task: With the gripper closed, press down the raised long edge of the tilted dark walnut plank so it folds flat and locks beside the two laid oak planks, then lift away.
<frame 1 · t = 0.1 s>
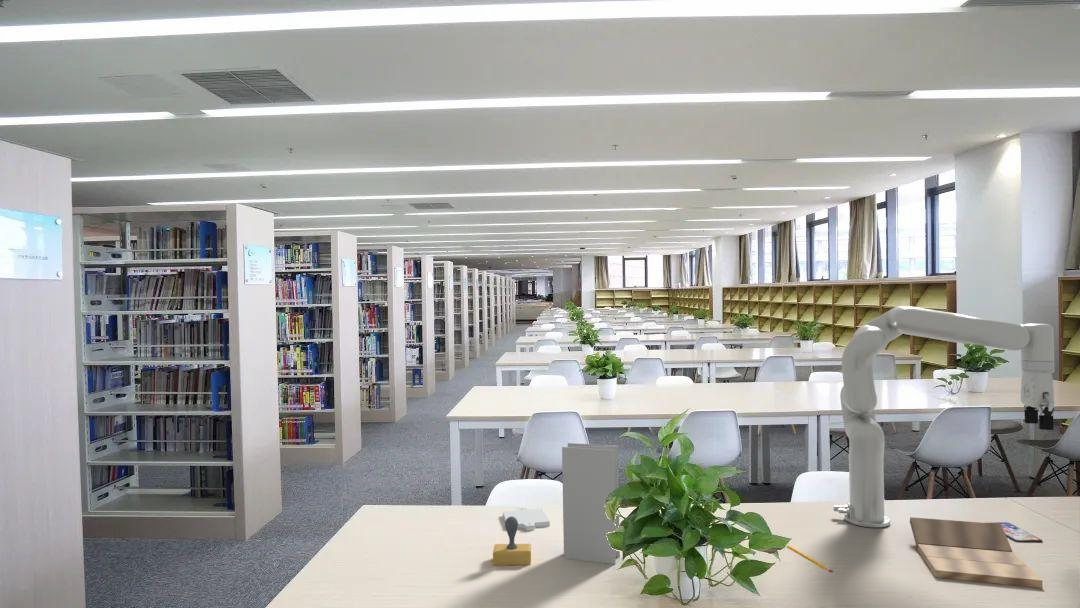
hand: (1038, 426, 186), 31 cm above the table, tool pointing down, fingers open, 9 cm apart
rubber stamp: (512, 562, 174), on the table
walnut plank: (958, 535, 177), point 3 cm above the table, hinge at 30.0°
pencil: (806, 559, 173), on the table
smartphone: (1012, 534, 188), on the table
brochure: (592, 558, 175), on the table
laid floor: (975, 568, 164), on the table
mounting plate: (525, 523, 205), on the table
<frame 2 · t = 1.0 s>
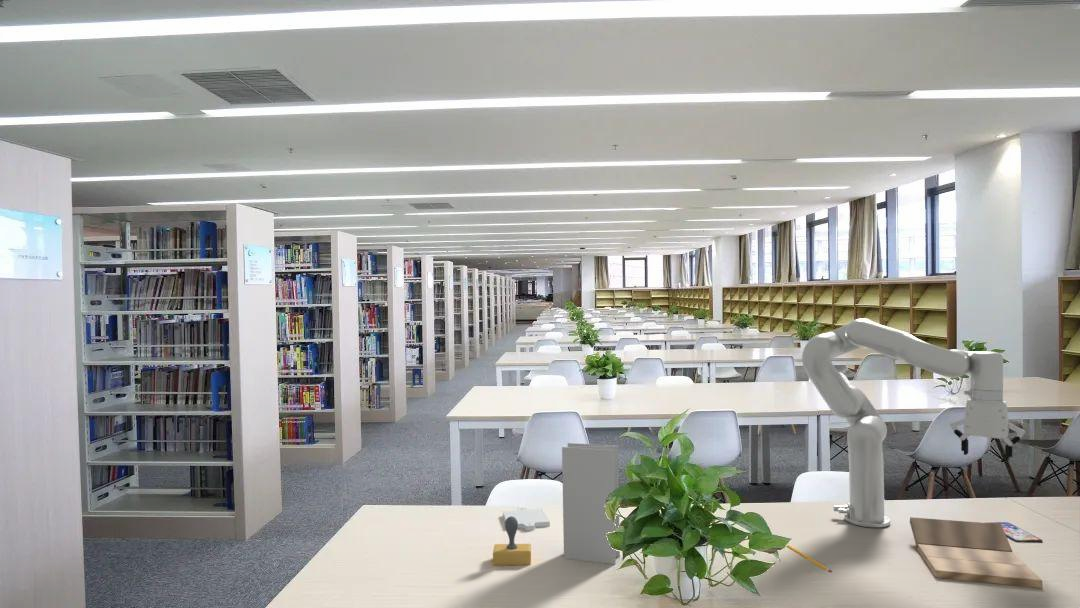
hand: (986, 456, 182), 24 cm above the table, tool pointing down, fingers open, 9 cm apart
nothing on the table moved.
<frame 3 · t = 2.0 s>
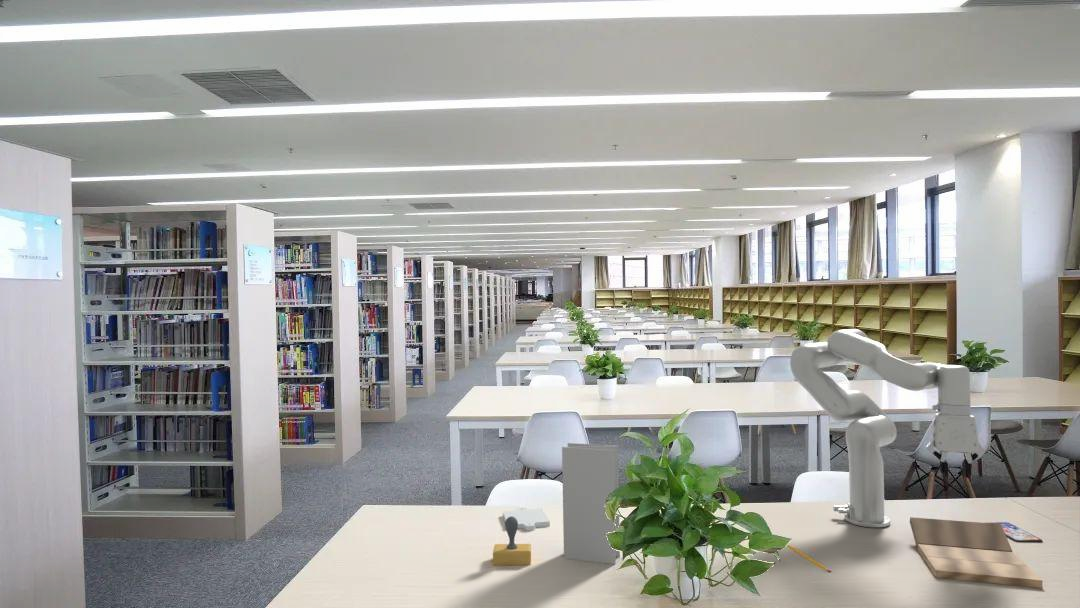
hand: (955, 475, 179), 19 cm above the table, tool pointing down, fingers open, 4 cm apart
nothing on the table moved.
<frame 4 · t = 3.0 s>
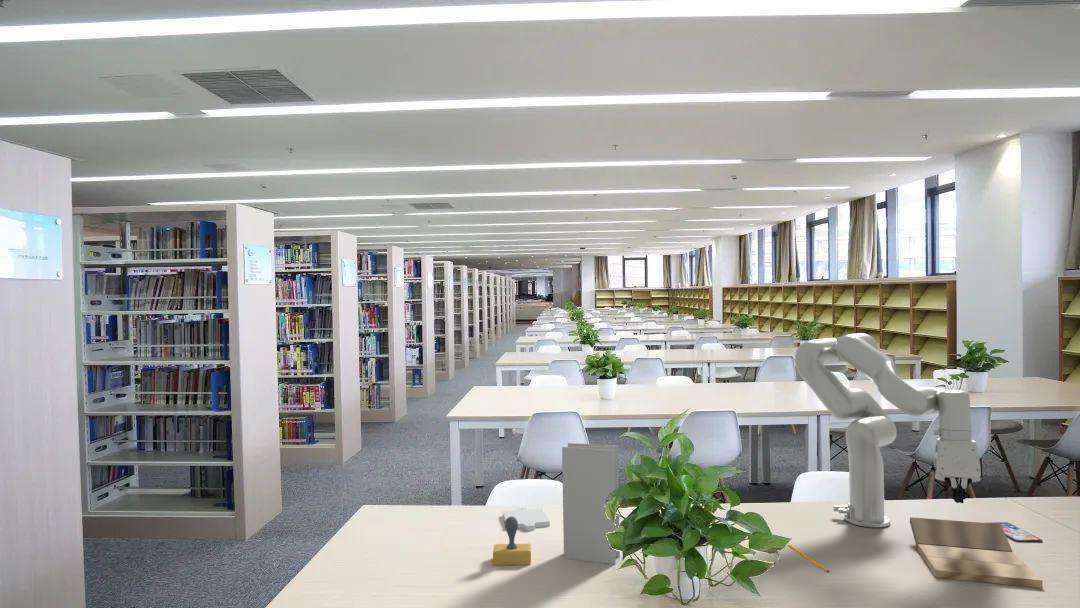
hand: (958, 501, 179), 12 cm above the table, tool pointing down, fingers closed
nothing on the table moved.
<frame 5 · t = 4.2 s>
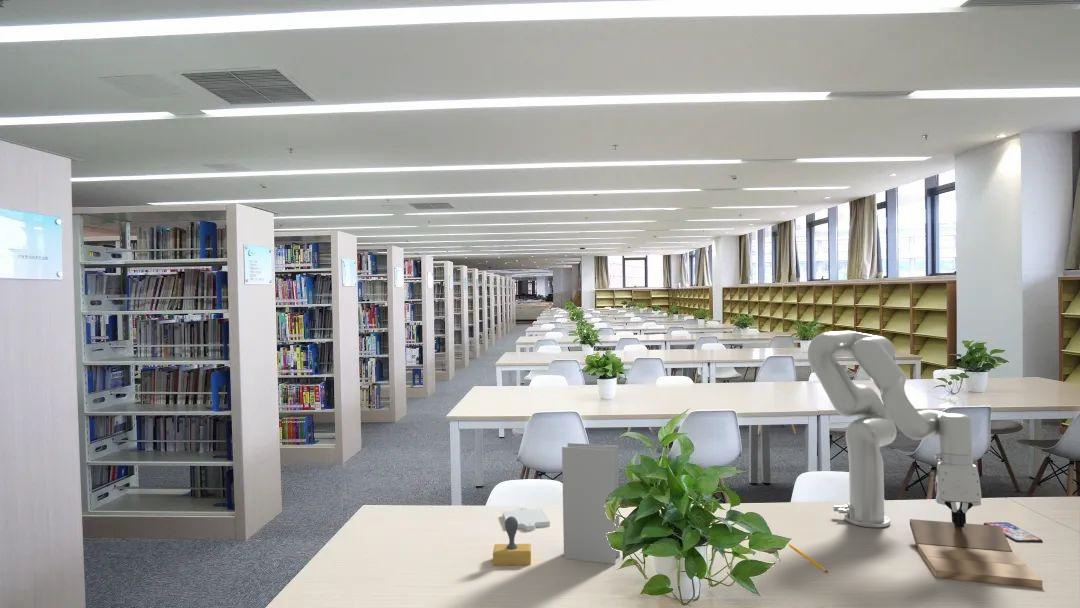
hand: (959, 525, 179), 6 cm above the table, tool pointing down, fingers closed
walnut plank: (958, 537, 177), point 3 cm above the table, hinge at 25.5°, touching gripper
everything else where it was.
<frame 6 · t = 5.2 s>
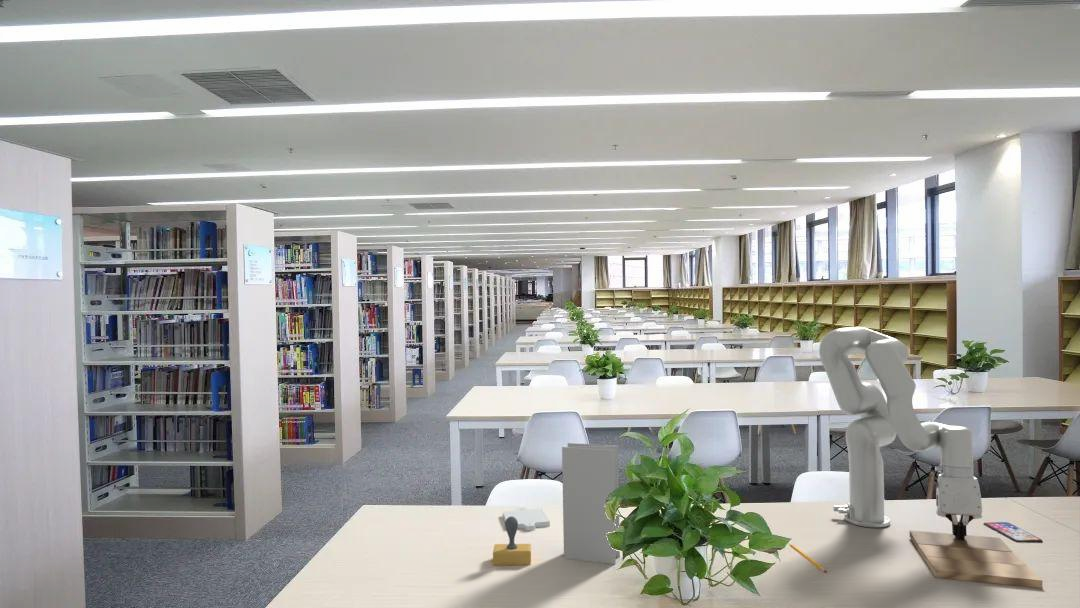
hand: (959, 538, 179), 2 cm above the table, tool pointing down, fingers closed
walnut plank: (958, 543, 177), point 1 cm above the table, hinge at 3.0°, touching gripper
everything else where it was.
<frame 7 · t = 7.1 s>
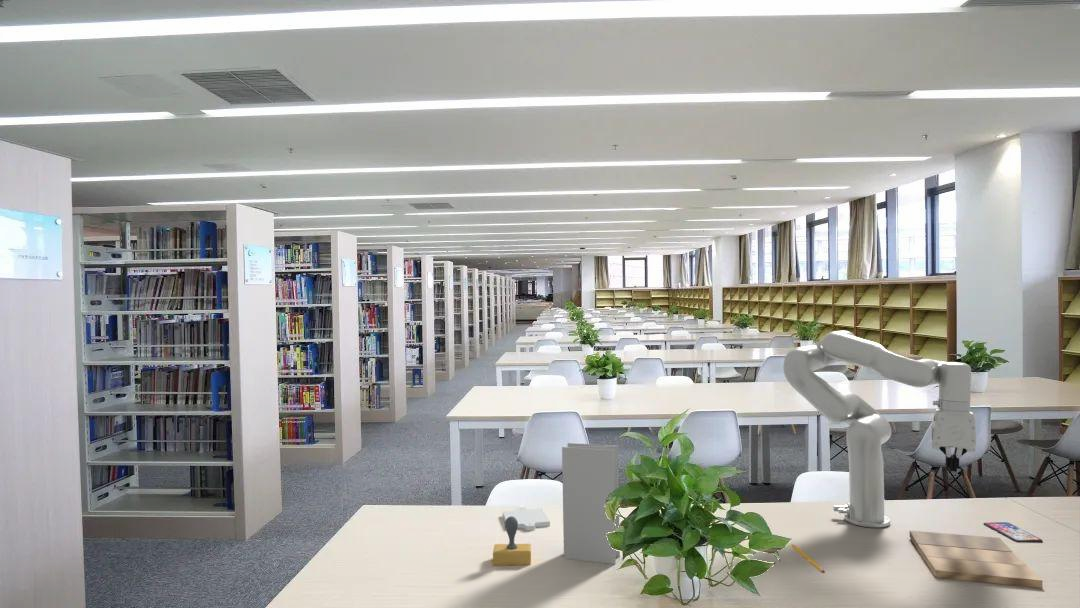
hand: (952, 470, 184), 19 cm above the table, tool pointing down, fingers closed
walnut plank: (958, 543, 177), point 1 cm above the table, hinge at 2.9°
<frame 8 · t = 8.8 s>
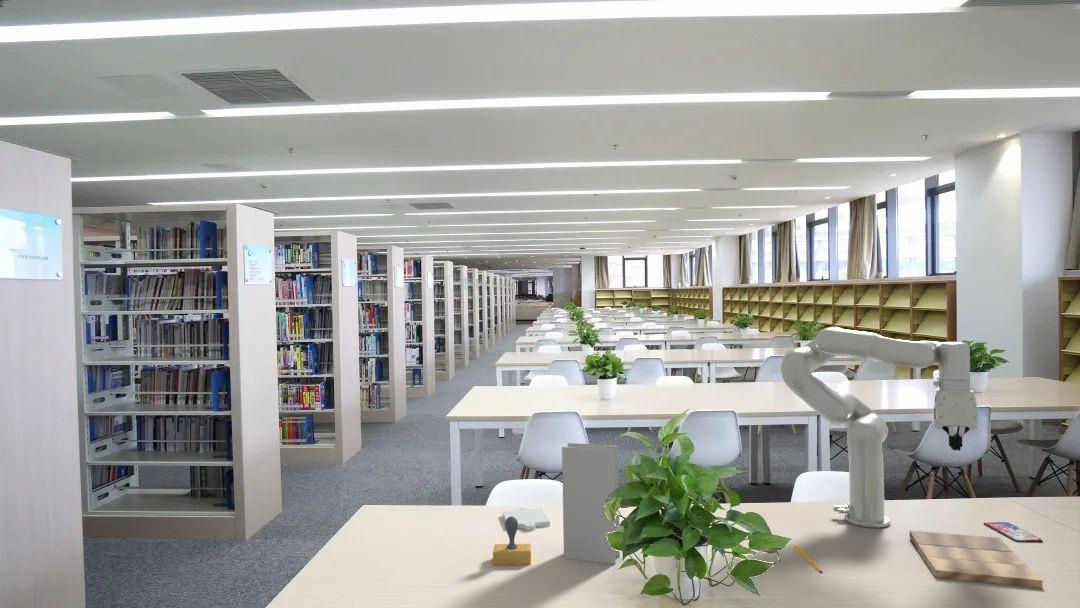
hand: (955, 449, 185), 25 cm above the table, tool pointing down, fingers closed
at the end: walnut plank at +3° (first picture: +30°) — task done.
